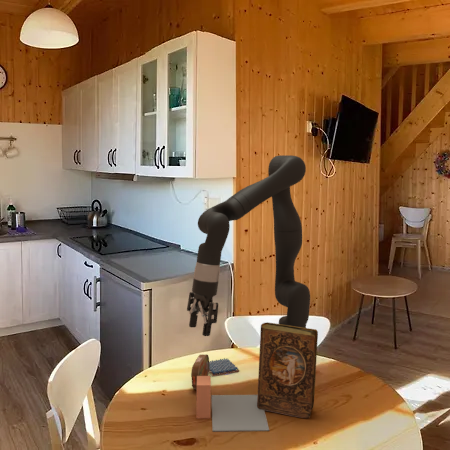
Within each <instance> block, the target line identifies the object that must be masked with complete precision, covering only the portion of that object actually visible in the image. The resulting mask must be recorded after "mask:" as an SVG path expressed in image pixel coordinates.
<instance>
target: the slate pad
mask: <svg viewBox="0 0 450 450" xmlns="http://www.w3.org/2000/svg"><path fill="white" fill-rule="evenodd" d="M257 397H258V394H211V422H212V423H211V424H212V425H211V426H212V432H270V428H269V424H268V420H267V416H266V410H261V409H258V408H257Z"/></svg>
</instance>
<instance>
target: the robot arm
mask: <svg viewBox="0 0 450 450" xmlns="http://www.w3.org/2000/svg"><path fill="white" fill-rule="evenodd" d="M306 166H307V165H306V163H305V161H304V159H302V158H301V157H300V156H297V155H289V154H288V155H285V154H284V155H282V154H281V155H276V156H274V157H272V158H271V160H270V161H269V164H268V167H267V169H268V171H267V174H268V176H266V177H265V178H263V179H261V180H259V181H257V182H254V183H252V184H250V185H247V186H245V187H243V188H242V189H240V190H238V191H237V192H236V193H234V194H233V195H232V196H230V197H228V198H227V199H226V200H225V201H222V202H220V203H218V204H215V205H214V206H212V207H210V208H207V209H206V210H205V211H204V212H202V213H201V215H199V217H198V220H197V226H198V230H199V231H200V232H201V233H203V234H205V235H206V237H205V240H204V242H202V243H201V244H199V246H198V249H197V256H196V262H195V267H194V272H193V279H192V286H191V287H192V289H191V292H189V295H188V300H187V308H186V311H187V312H188V313H189V324H188V325H189V326H188V327H189V328H197V326H198V324H197V323H198V318H199V315H198V314H199V313H200V314H201V317H202V318H203V325H202V326H203V327H202V336H203V337H210V336H211V331H212V324H217V322H218V314H219V303H218V302H215V301H214V302H213V299H214V297H215V296H217V294H218V289H219V281H220V274H221V273H220V272H221V258H222V252H223V249H224V246H225V245H226V243H227V242H226V241H227V239H228V236H229V233H230V222H231V221H238V220H241V218H243V217H244V216H246V215H247V214H249V213H250V212H251V211H252V210H254V209H255V208H257V207H258V206H260V205H261V204H262V203H264V202H266V201H267V200H269V199H270V198H271V200H272V213H273V214H272V215H273V236H274V237H273V238H274V250H275V251H274V253H275V254H274V255H275V275H274V276H275V279H274V297H275V299H276V302H278V304H280V305H281V306H284V307H286V308H287V312H286V315H284V316H281V317H280V318H279V319H278V324H282V325H289V326H296V327H302V328H307V327H306V326H307V323H308V322H309V316H310V307H311V306H310V305H311V291H310V288H309V287H308V286H307V285H306V284H304V283H301V282H298V281H296V279H295V263H296V260H297V257H298V255H299V253H300V251H301V248H302V245H303V226H302V225H303V224H302V220H301V217H300V216H299V212H298V211H297V208H296V207H295V204H294V203H293V199H292V195H291V187H292V186H294V185H296V184H298V183H299V182H301V181H302V180H303V178H304V177H305V175H306V172H307V167H306Z"/></svg>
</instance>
